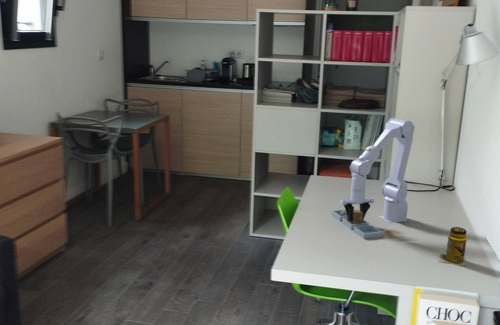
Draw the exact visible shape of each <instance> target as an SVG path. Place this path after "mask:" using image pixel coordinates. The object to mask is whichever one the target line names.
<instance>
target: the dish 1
mask: <svg viewBox="0 0 500 325" xmlns="http://www.w3.org/2000/svg"><path fill="white" fill-rule="evenodd" d="M342 211H346V209H345V208H344V209H336V210H335V209H333V210H331V214H330V215H331V216H332V217H334V218H335V219H336V220H337V221H339V222H342V218H348V217H347V216H341V212H342Z"/></svg>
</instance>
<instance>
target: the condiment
mask: <svg viewBox="0 0 500 325" xmlns="http://www.w3.org/2000/svg"><path fill="white" fill-rule="evenodd" d="M447 236H448V238H447V245H446V252H445V254H444V253H439V255H438V256H439V258H438V262H441V263H447V264H451V265H456V266H462V267H464V266H465V264H466V263H465V253H466V247H467V241H468V240H467V239H468V238H467V230H466V229H465V228H463V227H459V226H453V227H451V228H450V231H449V235H447Z"/></svg>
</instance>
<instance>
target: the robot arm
mask: <svg viewBox="0 0 500 325" xmlns="http://www.w3.org/2000/svg"><path fill="white" fill-rule="evenodd" d="M415 127H416V126H415V125H414V123H413V122H412V121H411V120H406V119H400V118H396V117H391V118H390V119H388V121H387V122H386V123H385V126H384V128H385V129H384V130H383V132H382V133H381V134H380V135H379V137H378V138H377V139H376V141H375V142H374V144H372V145H369V146H367V147H366V148H365V150H364V151H363V153H362V154H360V155H359V157H358V158H357V159H354V160H352V161H351V163H350V165H349V171H350V172H351V174H350V175H351V184H350V185H351V186H350V197H347V198H344V199H340V202H339V203H340V205H341V206H343V207H344V210H345V209H346V212H347V217H348V221H350V222H352V215H353V210H355V207H354V205H359V211H361V212H362V213H363V219H362V221H363V220H365V217H366V214H367V212H368V211H369V209H370V208H371V204H374V203H375V198H373V197H371V196H370V197H368V196H367V197H366V189H367V188H366V187H367V186H366V185H367V177H368V176H367V175H369V174H370V172H371V169H372V167H373V164H374V163H375V162H376V160H377V159H379V156H380V155H381V150H382V149H383V148H384V147H386V145H387V144H388V143H389V142H390V141H391V140H392V139H393V138H394V139H395V138H396V140H397V143H398V144H397V146H396V151H395V155H394V159H393V160H394V161H393V165H392V170H391V173H390V177H388V178H386V179H385V181H384V183H383V186H382V188H381V194H382V196H383V199H384V203H383V204H384V205H383V215H378V217H379V218H381V219H382V220H384V221H386V222H387V223H406V222H408V219H407V218H408V217H407V216H408V207H409V206H408V202H407V200H406V198H407V197H408V184H407V182H406V181H405V176H406V175H405V174H406V172H407V171H406V169H407V166H408V162H409V158H410V155H411V154H410V153H411V149H412V143H413V140H414V132H415Z"/></svg>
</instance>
